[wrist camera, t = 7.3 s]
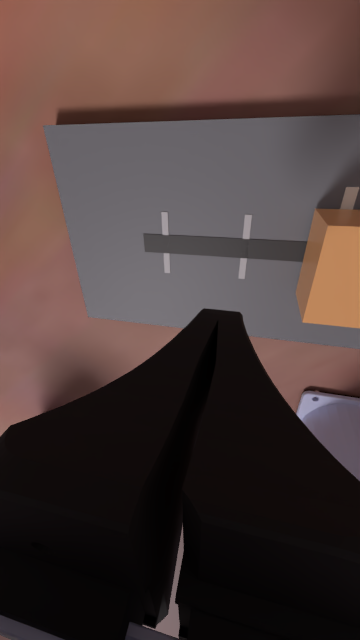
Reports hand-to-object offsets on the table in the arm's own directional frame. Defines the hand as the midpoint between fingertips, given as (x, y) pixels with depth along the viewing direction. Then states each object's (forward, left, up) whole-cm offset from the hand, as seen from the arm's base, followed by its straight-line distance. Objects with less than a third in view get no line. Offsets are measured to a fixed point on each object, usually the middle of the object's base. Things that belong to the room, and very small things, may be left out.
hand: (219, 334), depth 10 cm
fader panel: (0, 0, -10) cm, 10 cm away
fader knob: (-6, 0, -9) cm, 11 cm away
